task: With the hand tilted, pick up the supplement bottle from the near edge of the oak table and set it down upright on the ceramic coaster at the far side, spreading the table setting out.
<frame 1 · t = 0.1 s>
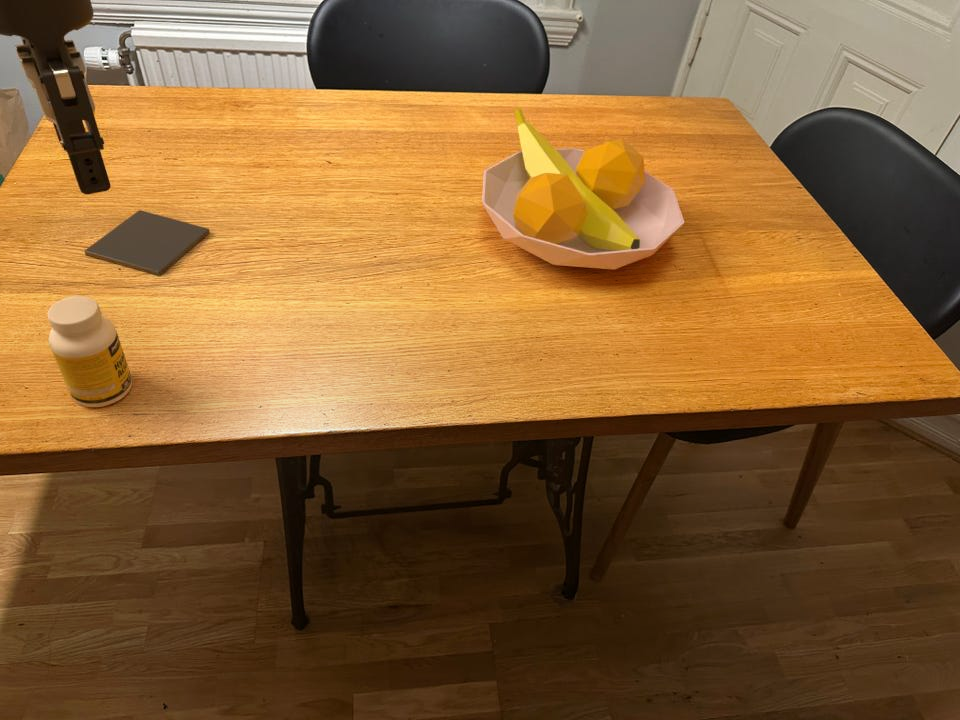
hand: (85, 166, 58), 20 cm above the table, tool pointing down, fingers open, 8 cm apart
coaster: (149, 243, 84), on the table
supplement bottle: (103, 390, 67), on the table
fruit bowl: (570, 230, 95), on the table
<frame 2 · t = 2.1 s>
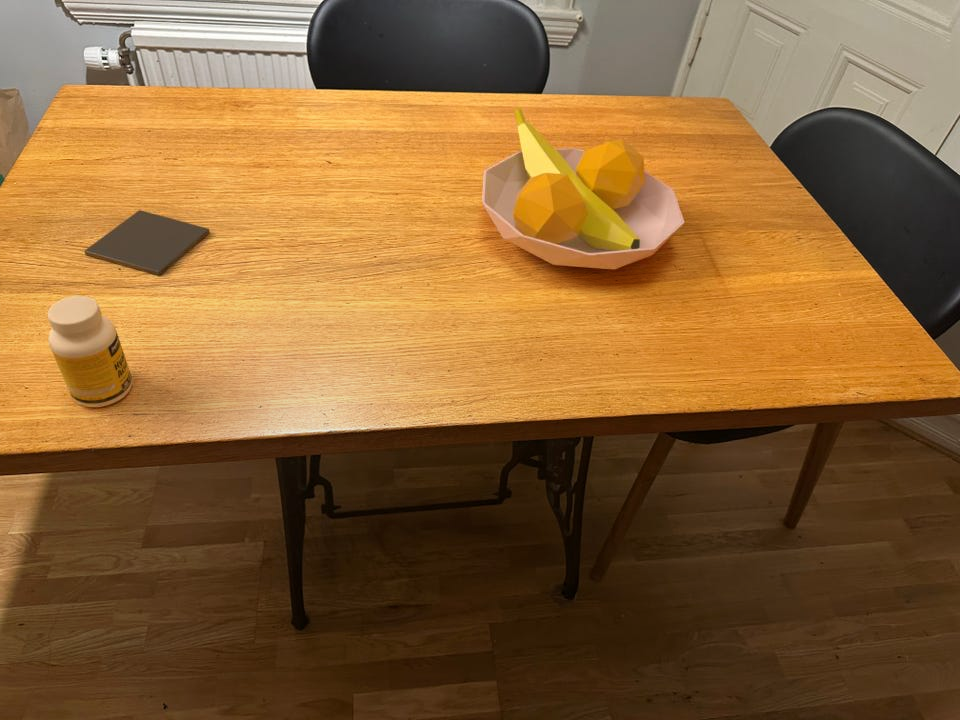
nothing on the table moved.
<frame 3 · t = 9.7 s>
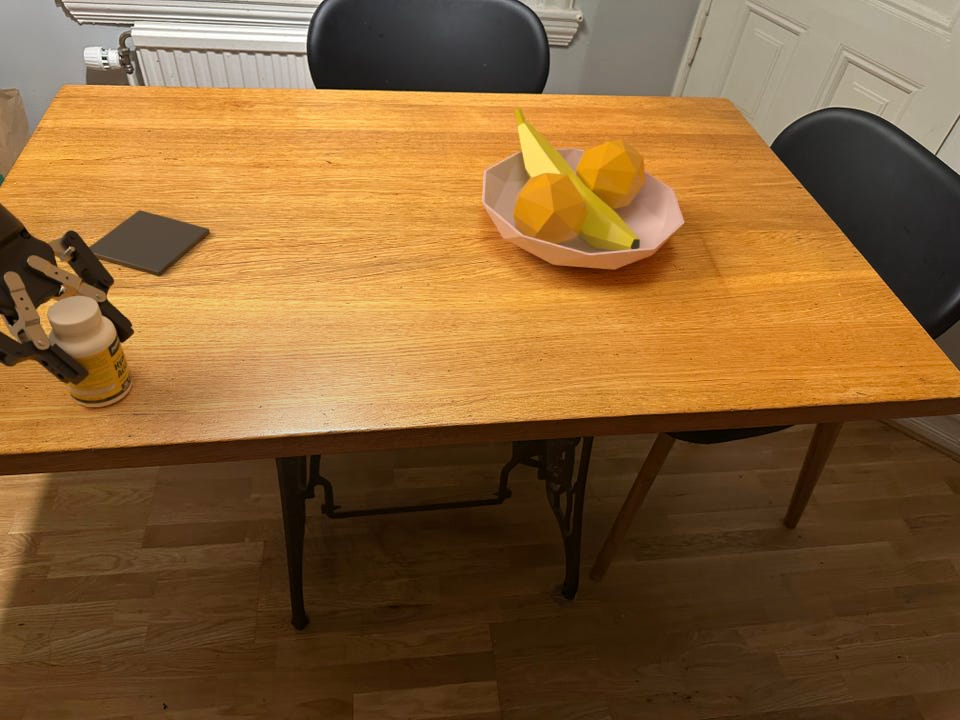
hand: (106, 357, 63), 5 cm above the table, tool tilted 45°, fingers closed on supplement bottle, 5 cm apart
supplement bottle: (103, 390, 67), on the table, touching gripper
everything else where it was.
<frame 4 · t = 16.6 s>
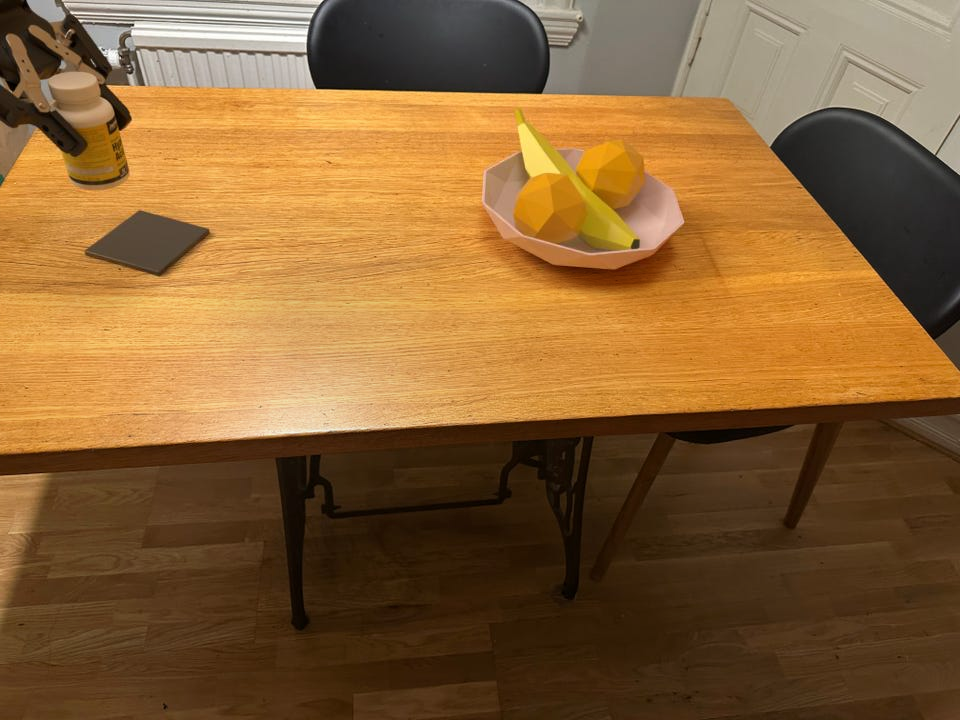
hand: (104, 137, 66), 18 cm above the table, tool tilted 45°, fingers closed on supplement bottle, 5 cm apart
supplement bottle: (102, 180, 69), point 13 cm above the table, touching gripper
everything else where it was.
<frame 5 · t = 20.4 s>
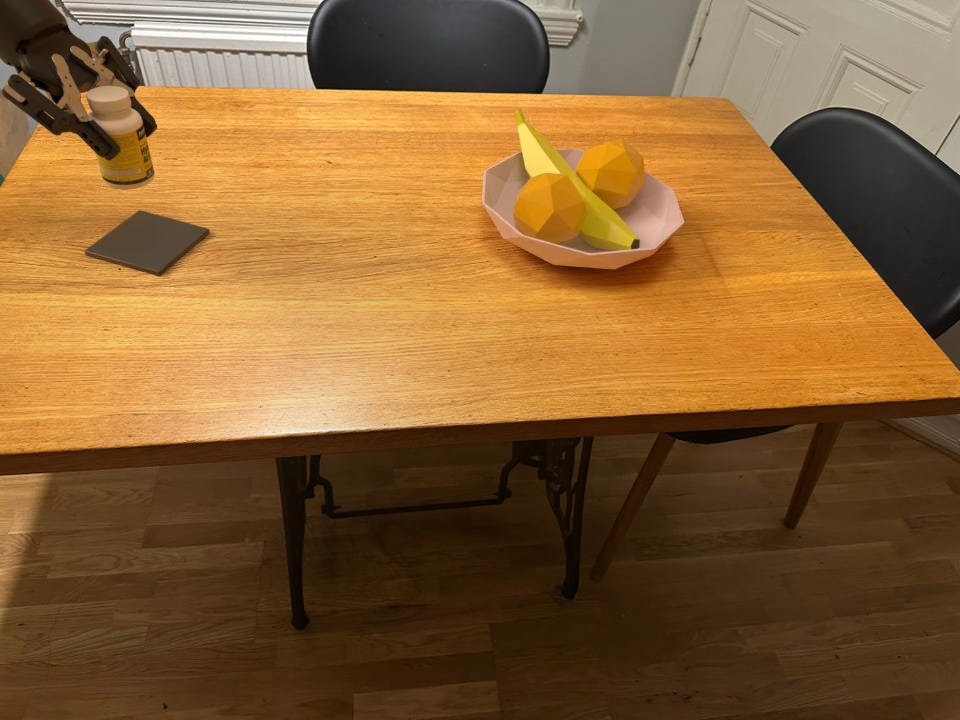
hand: (134, 143, 75), 13 cm above the table, tool tilted 45°, fingers closed on supplement bottle, 5 cm apart
supplement bottle: (130, 180, 78), point 8 cm above the table, touching gripper
everything else where it was.
when the fingers open (5 cm above the table, at t = 23.7 s): supplement bottle stays where it is, resting on coaster.
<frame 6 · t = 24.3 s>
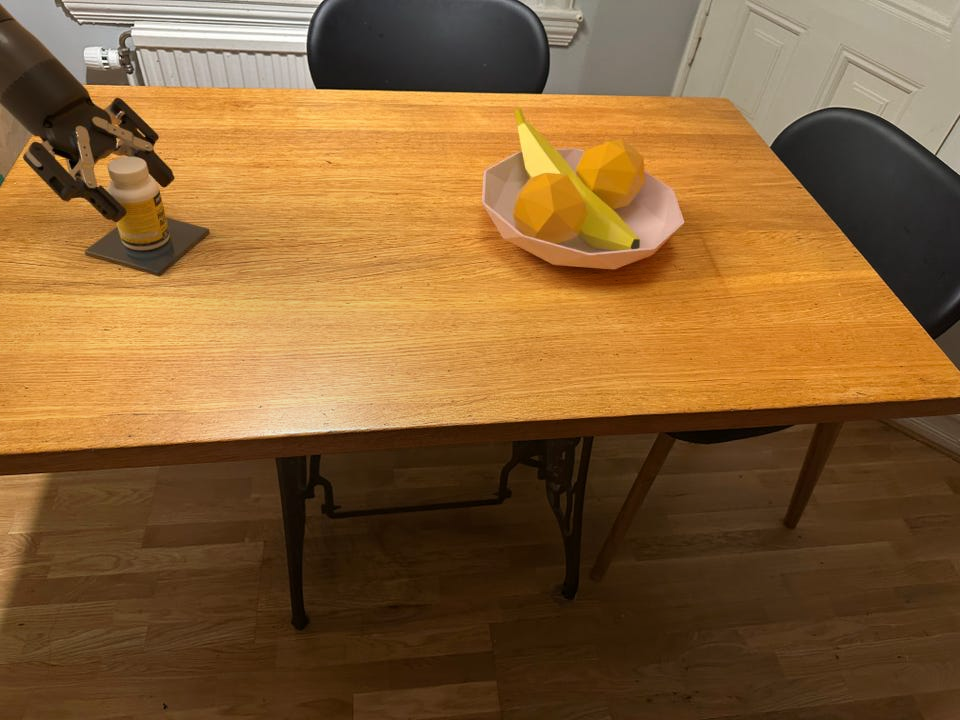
hand: (146, 199, 80), 6 cm above the table, tool tilted 45°, fingers open, 8 cm apart
supplement bottle: (147, 240, 84), resting on coaster
everything else where it was.
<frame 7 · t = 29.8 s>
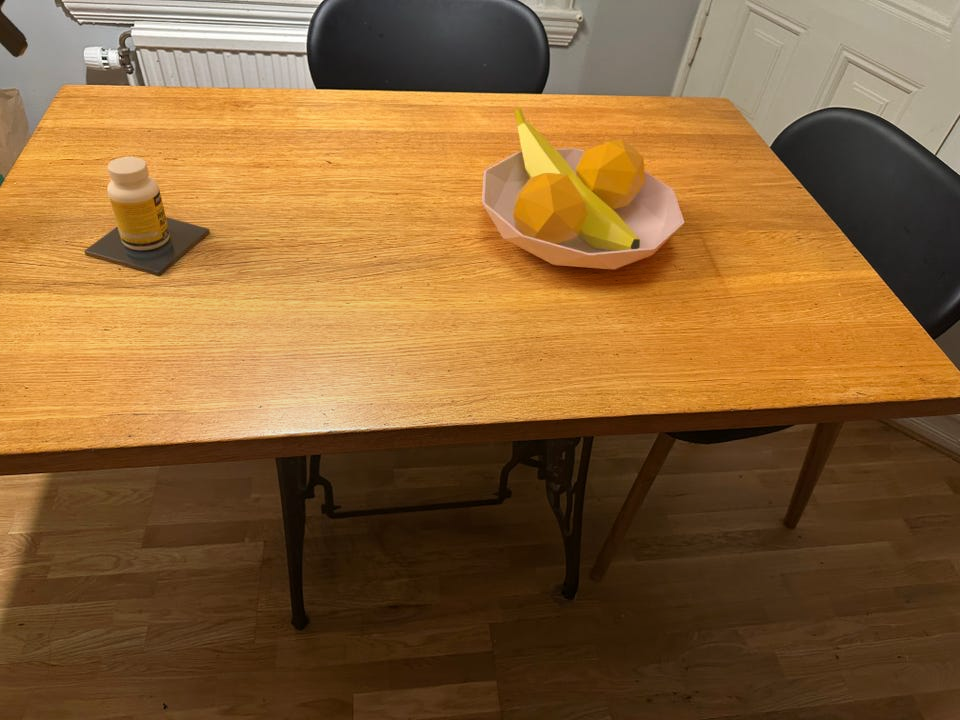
nothing on the table moved.
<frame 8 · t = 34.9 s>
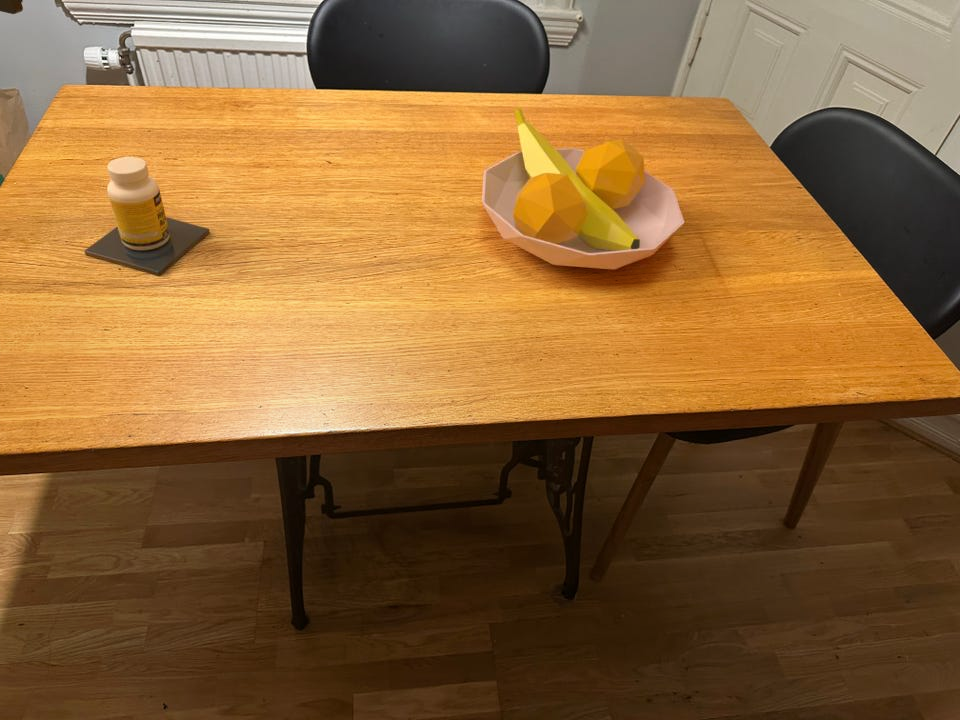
nothing on the table moved.
at the end: supplement bottle inside the target area on the coaster (0.2 cm from its centre), point 0.4 cm above the coaster's base; supplement bottle tilted 0°; the gripper is holding nothing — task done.
